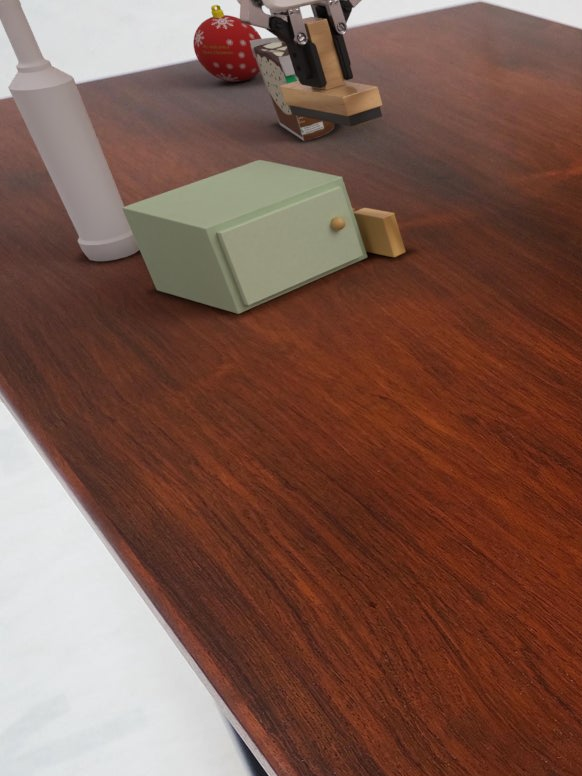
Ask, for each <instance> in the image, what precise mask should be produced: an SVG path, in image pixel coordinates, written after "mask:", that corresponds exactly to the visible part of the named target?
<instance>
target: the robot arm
mask: <svg viewBox="0 0 582 776" xmlns="http://www.w3.org/2000/svg"><path fill="white" fill-rule="evenodd" d="M236 1H237V3H238V4H239V5H240V7H239V19H240V20H241V21H242V22H243V23H245V24H248V25H251V26H252V27H257V28H262V29H265V30H266V31H267V32H269V33H270V34H272V35H273V36H275V37H277V38H278V39H279V40H280V41H281V42H285V43H286V46H287V49H288V52H289V55H290V59H291V62H292V65H293V69H294V72H295V74H296V76H297V77H298V79H299V82H300V83H301V84H302V85H305V86H311V87H317V88H322V87H325V86H326V84H327V81H326V78H325V75H324V71H323V68H322V64H321V61H320V58H319V54H318V51H317V47H316V45H315V44H314V43H311V42H308V37H307V33H306V29H305V25H304V22H303V19H304V17H303V14H302V11H301V8H302V7H307V6H310V8H311V11H312V15H313V17H316V18H323V19H327V21H328V25H329V28H330V32H331V35H332V39H333V43H334V46H335V50H336V53H337V57H338V60H339V64H340V67H341V71H342V74H343V78H344V81H349V80H350V81H351V80H352V79H353V78H354V74H353V70H352V67H351V66H352V65H351V64H352V63H351V59H350V56H349V52H348V49H347V45H346V41H345V38H344V35H346V33H347V32H348V25H347V23H348V20H349V18H350V16H351V14H352V11H353V9H354V8H355V7H357V5H358V4H359V3H361V2H362V0H236ZM263 7H265V8H266V9H267V10H269V14H268V13H266V12H264V10H263Z"/></svg>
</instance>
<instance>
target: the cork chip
mask: <svg viewBox="0 0 582 776" xmlns="http://www.w3.org/2000/svg"><path fill="white" fill-rule="evenodd" d="M353 213H354V216H355V219H356V222H357V225H358V228H359V231H360V235H361V238H362V241H363V244H364V247H365V250H366V253H370V254H375V255H380V256H384V257H389V258H397V257H399V256H400V255H403V254H405V253H406V252H407V251H406V248H405V245H404V242H403V238H402V234H401V231H400V227H399V223H398V221H397V218H396V217H397V216H396V213H395V212H391V211H385V210H381V209H375V208H369V207H362V208H360V209H357V210H355V212H353Z"/></svg>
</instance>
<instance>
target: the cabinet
mask: <svg viewBox="0 0 582 776" xmlns="http://www.w3.org/2000/svg"><path fill="white" fill-rule="evenodd" d="M352 208H353V207H352V204H351V200H350V197H349V193H348V191H347V188H346V184H345V181H344V178H343V176H341V175H334V174H329V173H325V172H321V171H316V170H311V169H307V168H302V167H297V166H292V165H288V164H282V163H278V162H274V161H273V162H272V161H269V160H263V159H258V160H255V161H252V162H249V163H245V164H244V165H240V166H238V167H234V168H232V169H229V170H226V171H223V172H220V173H217V174H215V175H212V176H209V177H208V176H207V177H205V178H203V179H199V180H196V181H194V182H191V183H189V184H185V185H183V186H180V187H177V188H173V189H171V190H168V191H165V192H163V193H159V194H157V195H154V196H151V197H148V198H145V199H143V200H139V201H136V202H133V203H131V204H127V205H124V207H122V209H123V212H124V214H125V216H126V219H127V221H128V223H129V226H130V228H131V231H132V233H133V235H134V238H135V240H136V242H137V245H138V247H139V249H140V250H139V252H140V254H141V256H142V259H143V261H144V263H145V266H146V268H147V271H148V273H149V275H150V277H151V280H152V282H153V285H154V287H155V289H156V291H158V292H162V293H165V294H169V295H172V296H175V297H179V298H182V299H185V300H189V301H193V302H195V303H200V304H201V305H206V306H210V307H213V308H215V309H216V308H217V309H220V310H223V311H227V312H229V313H234V314H237V315H240V314H242V313H244V312H246V311H248V310H251V309H253V308H255V307H258V306H260V305H262V304H266V303H267V302H269V301H272V300H274V299H276V298H278V297H280V296H283V295H285V294H288V293H290V292H292V291H295V290H296V289H297V290H298V289H299V288H302V287H304V286H306V285H308V284H309V283H310V284H311V283H314V282H315V281H317V280H319V279H321V278H324V277H327V276H329V275H331V274H333V273H336V272H338V271H340V270H342V269H345V268H347V267H349V266H352V265H354V264H356V263H358V262H361V261H363V260H365V259H368V254H367V253H368V252H366V250H365V247H364V244H363V241H362V238H361V235H360V231H359V228H358V225H357V222H356V219H355V216H354V213H353V209H352Z"/></svg>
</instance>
